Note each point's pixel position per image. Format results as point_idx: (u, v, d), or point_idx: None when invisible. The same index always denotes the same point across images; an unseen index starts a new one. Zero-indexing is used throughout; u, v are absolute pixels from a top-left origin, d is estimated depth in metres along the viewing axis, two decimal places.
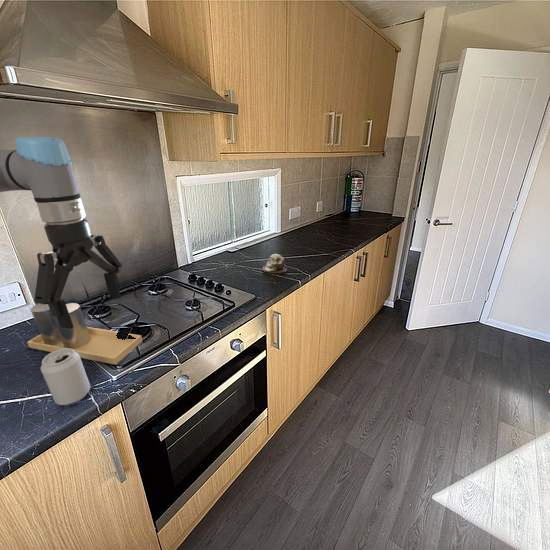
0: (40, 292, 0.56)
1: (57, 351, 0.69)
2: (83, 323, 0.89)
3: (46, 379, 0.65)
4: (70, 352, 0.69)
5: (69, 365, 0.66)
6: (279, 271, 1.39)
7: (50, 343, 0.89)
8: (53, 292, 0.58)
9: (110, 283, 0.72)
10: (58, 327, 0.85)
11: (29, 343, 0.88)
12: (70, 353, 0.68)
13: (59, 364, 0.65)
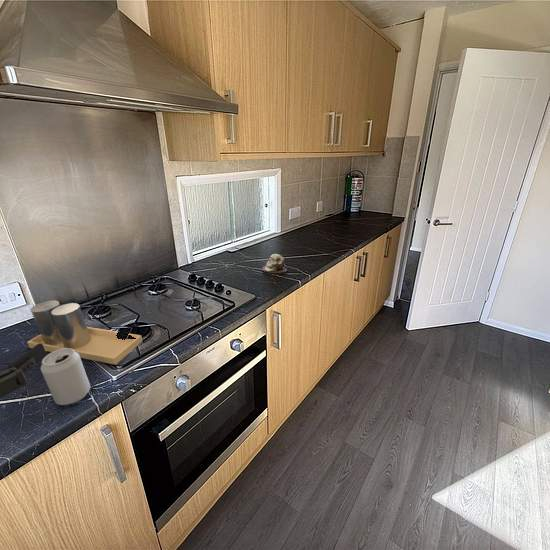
0: None
1: (57, 351, 0.69)
2: (83, 323, 0.89)
3: (46, 379, 0.65)
4: (70, 352, 0.69)
5: (69, 365, 0.66)
6: (279, 271, 1.39)
7: (50, 343, 0.89)
8: None
9: None
10: (58, 327, 0.85)
11: (29, 343, 0.88)
12: (70, 353, 0.68)
13: (59, 364, 0.65)
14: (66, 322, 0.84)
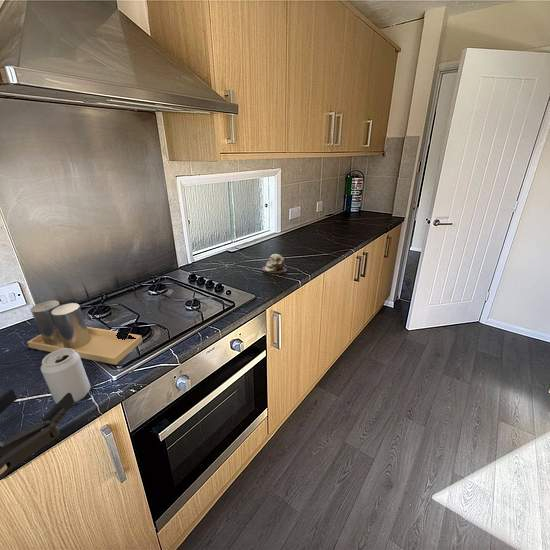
0: None
1: (57, 351, 0.69)
2: (83, 323, 0.89)
3: (46, 379, 0.65)
4: (70, 352, 0.69)
5: (69, 365, 0.66)
6: (279, 271, 1.39)
7: (50, 343, 0.89)
8: None
9: None
10: (58, 327, 0.85)
11: (29, 343, 0.88)
12: (70, 353, 0.68)
13: (59, 364, 0.65)
14: (66, 322, 0.84)
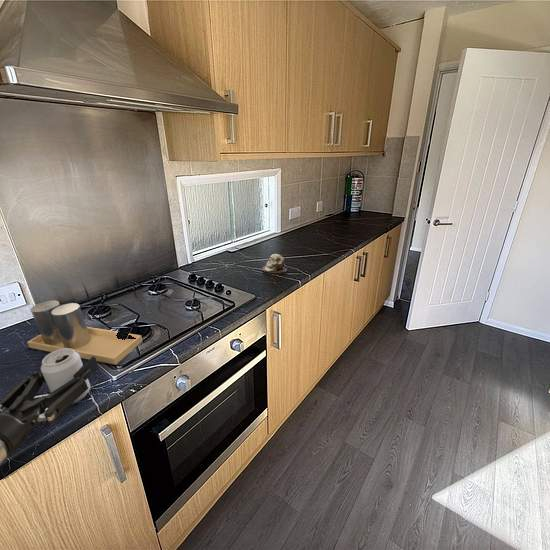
0: None
1: (57, 351, 0.69)
2: (83, 323, 0.89)
3: (46, 379, 0.65)
4: (70, 352, 0.69)
5: (69, 365, 0.66)
6: (279, 271, 1.39)
7: (50, 343, 0.89)
8: None
9: None
10: (58, 327, 0.85)
11: (29, 343, 0.88)
12: (70, 353, 0.68)
13: (59, 364, 0.65)
14: (66, 322, 0.84)
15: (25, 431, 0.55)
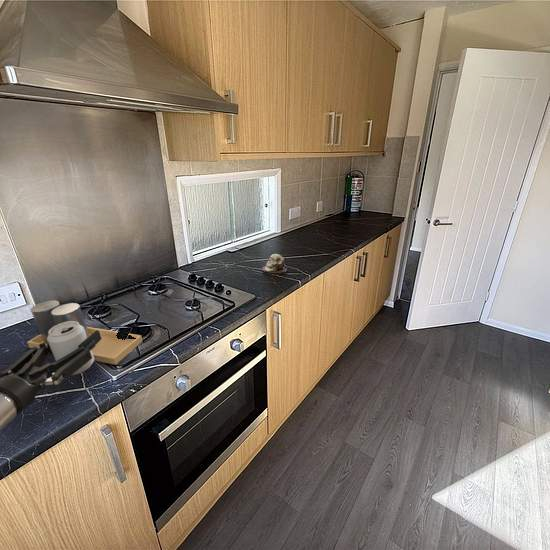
0: None
1: (63, 323, 0.72)
2: (83, 323, 0.89)
3: (52, 349, 0.68)
4: (75, 324, 0.72)
5: (74, 335, 0.69)
6: (279, 271, 1.39)
7: None
8: None
9: None
10: None
11: (29, 343, 0.88)
12: (75, 325, 0.72)
13: (65, 334, 0.68)
14: None
15: (33, 393, 0.58)
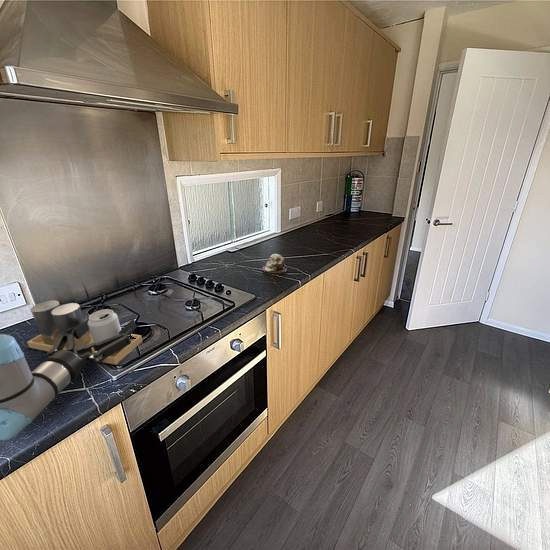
0: None
1: (99, 311, 0.85)
2: None
3: (92, 332, 0.81)
4: (110, 312, 0.85)
5: (110, 321, 0.82)
6: (279, 271, 1.39)
7: (50, 343, 0.89)
8: None
9: None
10: (58, 327, 0.85)
11: (29, 343, 0.88)
12: (110, 313, 0.84)
13: (103, 319, 0.81)
14: (66, 322, 0.84)
15: (82, 364, 0.71)
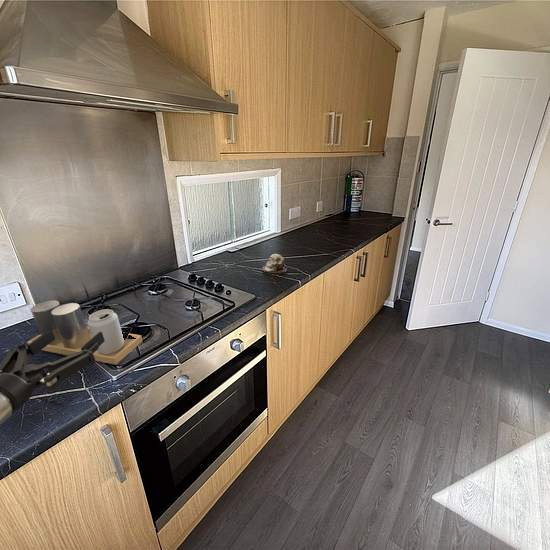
0: None
1: (99, 311, 0.85)
2: (83, 323, 0.89)
3: (92, 332, 0.81)
4: (110, 312, 0.85)
5: (110, 321, 0.82)
6: (279, 271, 1.39)
7: (50, 343, 0.89)
8: None
9: None
10: (58, 327, 0.85)
11: (29, 343, 0.88)
12: (110, 313, 0.84)
13: (103, 319, 0.81)
14: (66, 322, 0.84)
15: (29, 391, 0.58)
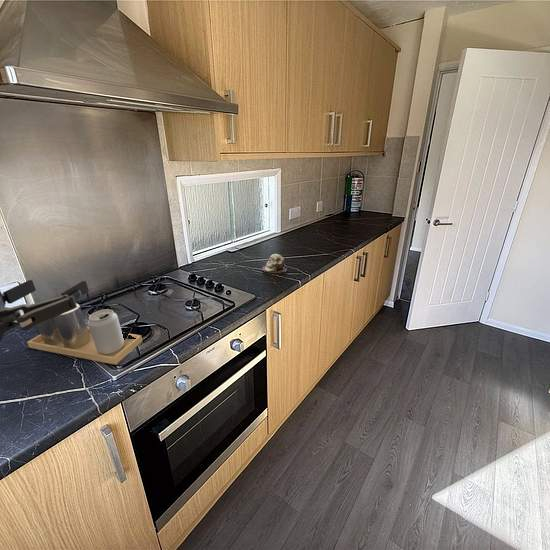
0: None
1: (99, 311, 0.85)
2: (83, 323, 0.89)
3: (92, 332, 0.81)
4: (110, 312, 0.85)
5: (110, 321, 0.82)
6: (279, 271, 1.39)
7: (50, 343, 0.89)
8: None
9: None
10: (58, 327, 0.85)
11: (29, 343, 0.88)
12: (110, 313, 0.84)
13: (103, 319, 0.81)
14: (66, 322, 0.84)
15: (0, 331, 0.52)
